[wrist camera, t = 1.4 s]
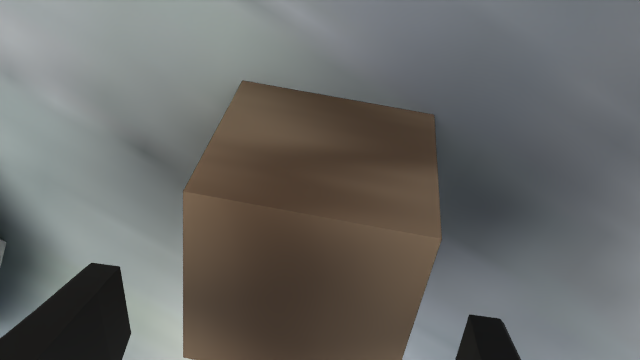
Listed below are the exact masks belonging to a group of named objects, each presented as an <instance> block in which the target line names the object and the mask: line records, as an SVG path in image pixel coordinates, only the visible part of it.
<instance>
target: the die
mask: <svg viewBox="0 0 640 360" xmlns="http://www.w3.org/2000/svg"><path fill="white" fill-rule="evenodd" d="M6 243H7V242H5V241H3V240H1V239H0V266H1V263H2V259H3V255H4V251H5V247H6Z"/></svg>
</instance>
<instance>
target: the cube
mask: <svg viewBox="0 0 640 360" xmlns="http://www.w3.org/2000/svg"><path fill="white" fill-rule="evenodd" d="M441 240H442V235H441V219H440V202H439V185H438V169H437V152H436V136H435V119H434V115H433V114H427V113H422V112H416V111H411V110H405V109H399V108H394V107H388V106H383V105H377V104H371V103H366V102H360V101H355V100H349V99H343V98H338V97H332V96H327V95H321V94H315V93H310V92H304V91H298V90H293V89H287V88H282V87H276V86H270V85H265V84H259V83H254V82H248V81H242V82H241V84H240V86H239V88H238V90H237V92H236V94H235V95H234V97H233V99H232V101H231V103H230V105H229V107H228V108H227V110H226V112H225V114H224V116H223V118H222V120H221V122H220V123H219V125H218V127H217V129H216V131H215V133H214V135H213V136H212V138H211V140H210V142H209V144H208V146H207V148H206V150H205V151H204V153H203V155H202V157H201V159H200V161H199V163H198V164H197V166H196V168H195V170H194V172H193V174H192V176H191V178H190V179H189V181H188V183H187V185H186V187H185V189H184V191H183V357H184V358H189V359H194V360H402V358H403V355H404V352H405V349H406V346H407V342H408V339H409V336H410V333H411V330H412V327H413V324H414V321H415V318H416V315H417V312H418V309H419V306H420V303H421V300H422V297H423V294H424V291H425V288H426V285H427V282H428V279H429V276H430V273H431V270H432V267H433V264H434V261H435V258H436V255H437V252H438V249H439V246H440V243H441Z"/></svg>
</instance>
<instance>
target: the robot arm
mask: <svg viewBox="0 0 640 360" xmlns="http://www.w3.org/2000/svg"><path fill="white" fill-rule="evenodd" d="M130 335H131V330H130V324H129V318H128V312H127V306H126V300H125V294H124V288H123V282H122V276H121V270H120V267H119V266H111V265H104V264H97V263H91V264H89V265H88V266H87V267H86V268H84V269H83V270H82V271H81V272H80V273H78V274H77V275H76V276H75V277H74V278H72V279H71V280H70V281H69V282H68V283H67V284H65V285H64V286H63V287H62V288H61V289H60V290H58V291H57V292H56V293H55V294H54V295H53V296H51V297H50V298H49V299H48V300H47V301H45V302H44V303H43V304H42V305H41V306H39V307H38V308H37V309H36V310H35V311H34V312H32V313H31V314H30V315H29V316H27V317H26V318H25V319H24V320H22V321H21V322H20V323H19V324H18V325H16V326H15V327H14V328H13V329H11V330H10V331H9V332H8V333H6V334H5V335H4V336H3V337H1V338H0V360H122V358H123V355H124V352H125V349H126V346H127V343H128V341H129V338H130ZM456 360H521V359H520V357H519V355H518V352H517V350H516V348H515V346H514V344H513V342H512V340H511V338H510V336H509V333H508V331H507V329H506V327H505V325H504V323H503V322H502V321H501V319H498V318H491V317H484V316H476V315H469V317H468V320H467V324H466V327H465V330H464V333H463V337H462V340H461V343H460V347H459V350H458V353H457V356H456Z"/></svg>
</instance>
